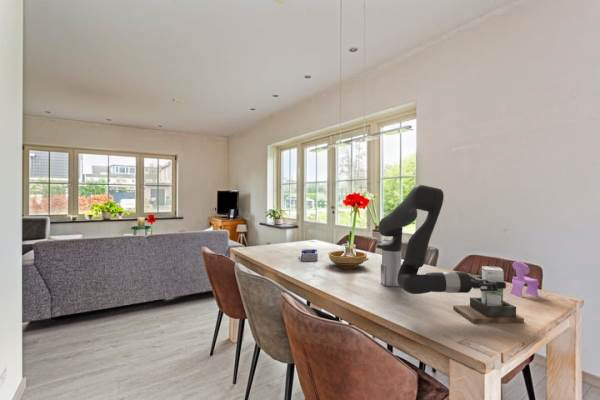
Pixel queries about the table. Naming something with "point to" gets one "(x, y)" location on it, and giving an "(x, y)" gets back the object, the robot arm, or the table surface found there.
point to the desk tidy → (309, 255)
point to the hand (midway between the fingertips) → (497, 282)
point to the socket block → (488, 312)
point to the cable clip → (310, 253)
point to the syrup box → (491, 296)
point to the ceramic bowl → (347, 259)
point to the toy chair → (523, 280)
